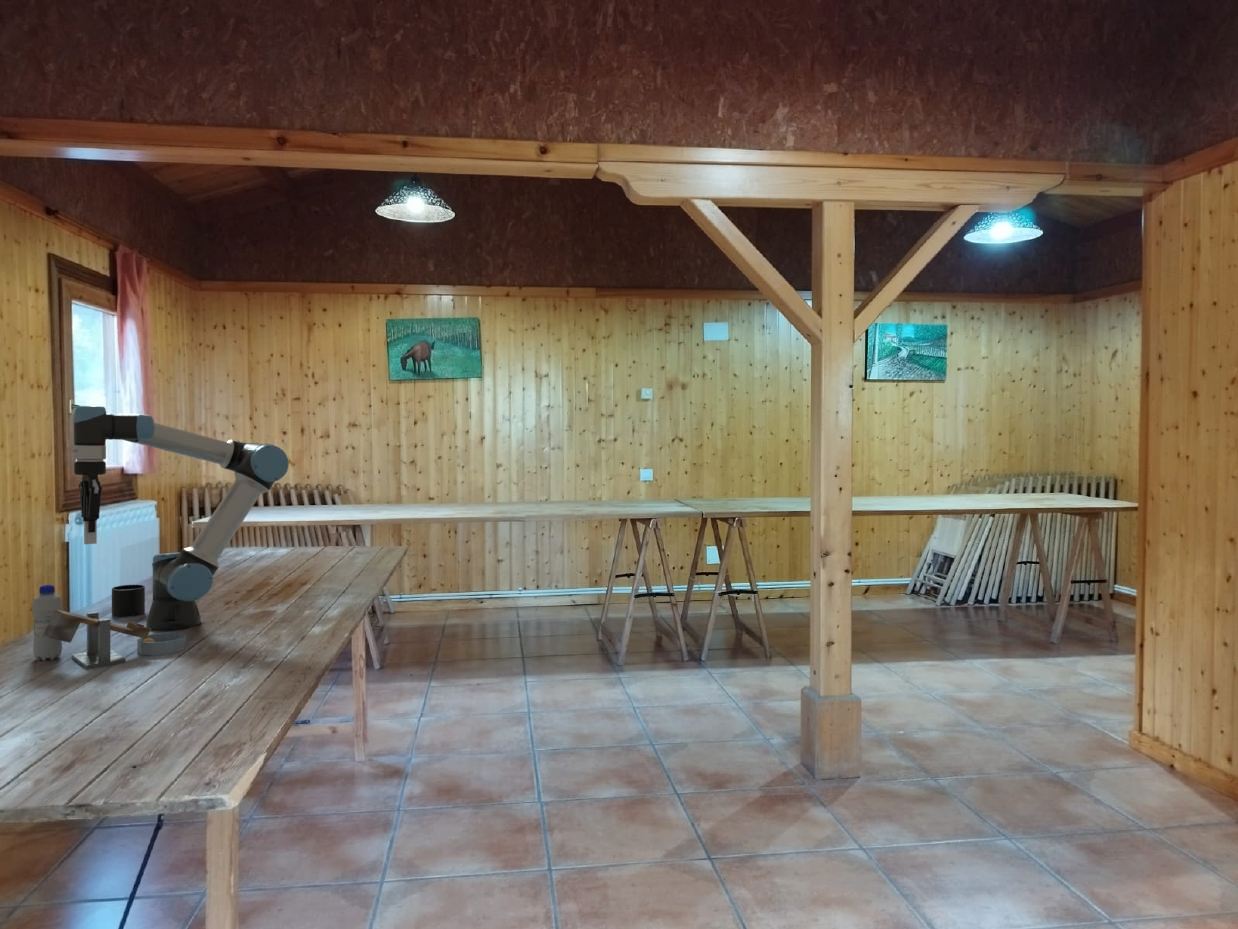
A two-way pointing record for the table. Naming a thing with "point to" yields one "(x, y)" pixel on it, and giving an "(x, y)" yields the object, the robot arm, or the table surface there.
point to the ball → (149, 640)
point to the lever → (68, 623)
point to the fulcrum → (98, 646)
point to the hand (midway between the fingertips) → (90, 543)
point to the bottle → (45, 623)
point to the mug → (128, 600)
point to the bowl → (161, 644)
